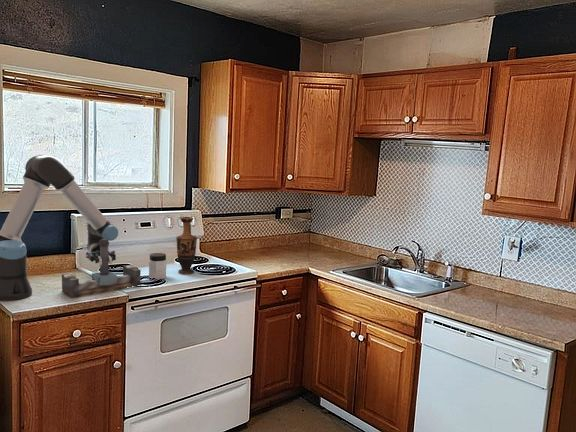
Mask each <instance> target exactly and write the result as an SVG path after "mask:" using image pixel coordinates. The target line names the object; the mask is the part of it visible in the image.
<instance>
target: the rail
mask: <svg viewBox="0 0 576 432" xmlns="http://www.w3.org/2000/svg"><path fill="white" fill-rule="evenodd" d="M122 273H123V274H122V275H117V283H112V284H106V285H99V281H97V280H92V279H91V280H90V279H89V280H83V281H80V279H79V278H78V277H77V274H76V273H63V274H61V292H62V293H64V294H65V295H66V296H68V297H70V298H71V299H74V298H81V297H86V296H92V295H97V294H104V293H109V292H114V291H120V290H124V289H123V288H127V287H132V286H137V285H140V286H141V269H139V268H138V266H137V265H132V264H131V265H130V264H126V265H123V266H122ZM127 289H128V288H127Z"/></svg>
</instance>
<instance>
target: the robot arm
mask: <svg viewBox="0 0 576 432" xmlns="http://www.w3.org/2000/svg"><path fill="white" fill-rule="evenodd" d="M24 167H25V168H24V169H25V173H24V174H23V176H22V180H23V185H22V187H21V189H20V190H19V193H18V194H17V196H16V199H15V201H14V203H13V204H12V207H11V209H10V211H9V213H8V215H7V217H6V219H5V221H4V222H3V224H2V227H1V229H0V301H3V302H5V301H16V300H21V299H26V298H28V297H30V296H32V294H33V288H32V286H31V283H30V281H29V279H28V271H27V270H28V269H27V267H28V266H27V265H28V261H27V253H28V252H27V246H26V243H24V242H23V241H22V235H23V234H24V231H25V229H26V228H27V225H28V223H29V221H30V219H31V217H32V215H33V213H34V211H35V209H36V207H37V205H38V203H39V200H40V198H41V197H42V194H43V192H44V191H45V190H48V189H49V188H50V186H53V187H54V188H55V190H56V191H60V192H61V193H62V194H63V196H64V197H65V198H66V199H67V200H68V201H69V202H70V204H72V206H73V207H74V208H75V209H76V210H77V211H78V212H79V214H80V215H81V216H82V217H83V219H85V221H86V222H87V223H86V224H87V244H86V248H87V252H86V253H85V257H86V259H88V260H89V261H90V262H95V264H99V266H100V265H102V259H101V257H100V245H99V241H100V240H101V239H107V240H108V241H109V242H111V241H114V240H116V239H117V238H118V236H119V229H118V228H117V227H116V226H115V225H112V224H111V223H110V221H109V220H108V219H107V218H106V216H105V215H104V214H103V213H102V212H101V211H100V210H99V208H98V207H97V206H96V204H94V203H93V201H92V200H91V199H90V197H88V195H87V194H86V193H85V192H84V190H83V189H82V188H81V187H80V185H78V183H77V182H76V181H75V179H76V177H75V176H74V175H73V173H72V172H71V171H70V170H69V169H68V167H67V166H66V165H65V164H64V163H63V161H61V160H60V159H59V158H57V157H55V156H51V155H44V154H39V155H34V156H32V157H30V158H29V159H28V160H27V161H26V163H25V166H24ZM116 257H117V255H116V250H112V251H111V250H110V251H109V250H108V264H109V265H112V264H113V262H114V261H116Z"/></svg>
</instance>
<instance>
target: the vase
mask: <svg viewBox="0 0 576 432" xmlns="http://www.w3.org/2000/svg"><path fill="white" fill-rule="evenodd" d="M179 219H180V222H181V223H182V224H183V227H182V228H183V230H182V231H183V232H182V234H181V235H177V236H176V254H177V260H178V263H179V265H180V269H179V270H178V271H177V272H178V274H180V275H191V274H194V273H195V270H194V269H192V265H193V263H194V261H195V258H196V253H197V242H198V241H197V240H198V237H197V235H193V234H192V227H191V226H192V225H191V223H192V222H193V221H194V217H192V216H191V217H190V216H180V218H179Z"/></svg>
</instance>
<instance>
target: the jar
mask: <svg viewBox="0 0 576 432" xmlns="http://www.w3.org/2000/svg"><path fill="white" fill-rule="evenodd" d="M149 277H151V278H155V279H157V280H164V279H165V278H166V277H167V255H166V253H163V252H153V253H150V254H149V259H148V278H149ZM155 279H154V280H155Z"/></svg>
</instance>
